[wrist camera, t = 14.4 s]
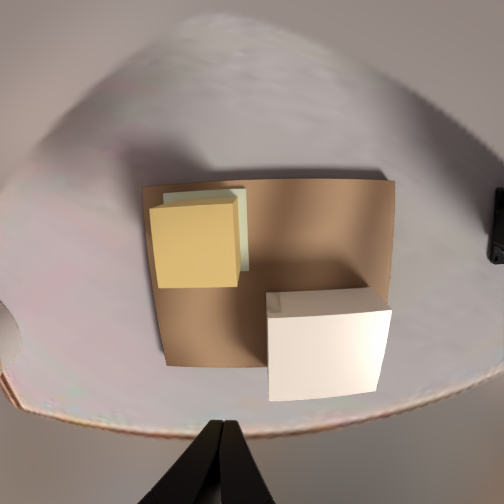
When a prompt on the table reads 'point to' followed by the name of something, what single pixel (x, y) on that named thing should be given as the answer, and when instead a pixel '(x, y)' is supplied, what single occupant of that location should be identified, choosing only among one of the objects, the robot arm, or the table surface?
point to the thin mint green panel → (222, 194)
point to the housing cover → (325, 342)
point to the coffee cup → (8, 338)
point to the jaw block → (196, 243)
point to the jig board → (276, 262)
